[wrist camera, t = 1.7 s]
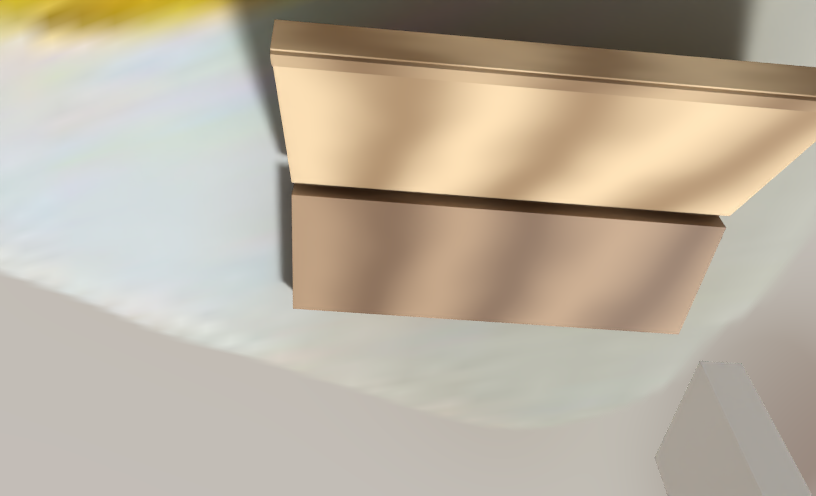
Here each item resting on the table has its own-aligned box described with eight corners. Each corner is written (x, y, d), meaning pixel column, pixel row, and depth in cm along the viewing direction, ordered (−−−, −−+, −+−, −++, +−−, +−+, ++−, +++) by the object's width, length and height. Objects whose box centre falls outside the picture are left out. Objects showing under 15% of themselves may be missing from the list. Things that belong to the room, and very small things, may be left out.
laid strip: (296, 293, 36) (293, 308, 35) (294, 167, 31) (291, 181, 30) (671, 318, 37) (678, 334, 36) (721, 201, 32) (731, 215, 31)
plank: (294, 159, 31) (291, 185, 30) (274, 19, 23) (269, 52, 22) (725, 192, 32) (730, 218, 31) (856, 70, 24) (864, 103, 23)
